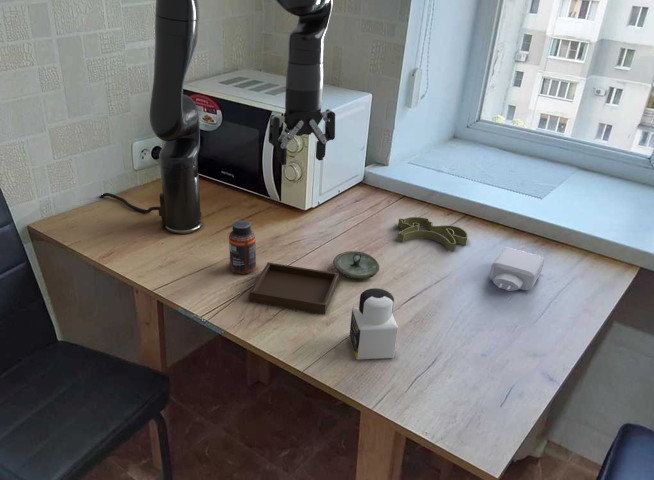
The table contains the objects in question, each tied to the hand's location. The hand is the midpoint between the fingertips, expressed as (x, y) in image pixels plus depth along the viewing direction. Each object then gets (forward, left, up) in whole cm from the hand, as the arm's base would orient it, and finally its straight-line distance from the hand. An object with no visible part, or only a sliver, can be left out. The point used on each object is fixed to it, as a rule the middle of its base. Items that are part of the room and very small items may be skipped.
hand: (301, 161), depth 132 cm
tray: (+3, -14, -24) cm, 28 cm away
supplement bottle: (-11, -8, -25) cm, 28 cm away
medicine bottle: (+22, -29, -25) cm, 44 cm away
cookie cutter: (+29, +22, -25) cm, 44 cm away
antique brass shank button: (+14, -1, -25) cm, 28 cm away
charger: (+48, +4, -25) cm, 54 cm away
